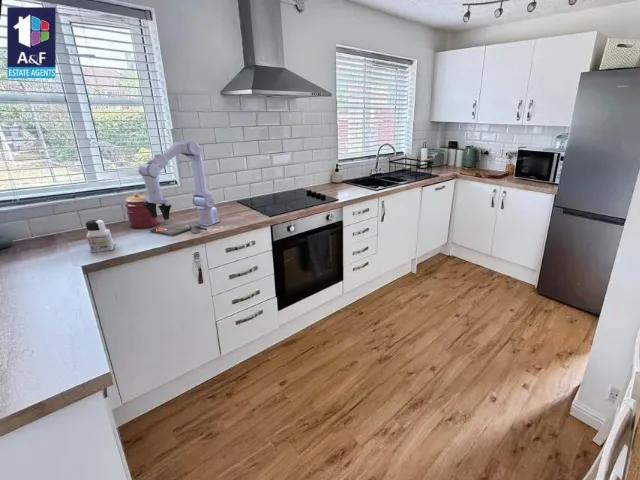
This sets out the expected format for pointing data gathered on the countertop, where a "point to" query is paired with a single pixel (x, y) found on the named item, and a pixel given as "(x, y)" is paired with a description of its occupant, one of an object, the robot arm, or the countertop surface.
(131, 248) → the countertop surface
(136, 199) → the kitchen canister
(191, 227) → the wok
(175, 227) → the dark grey flat slab
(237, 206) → the countertop surface
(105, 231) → the container
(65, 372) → the countertop surface
